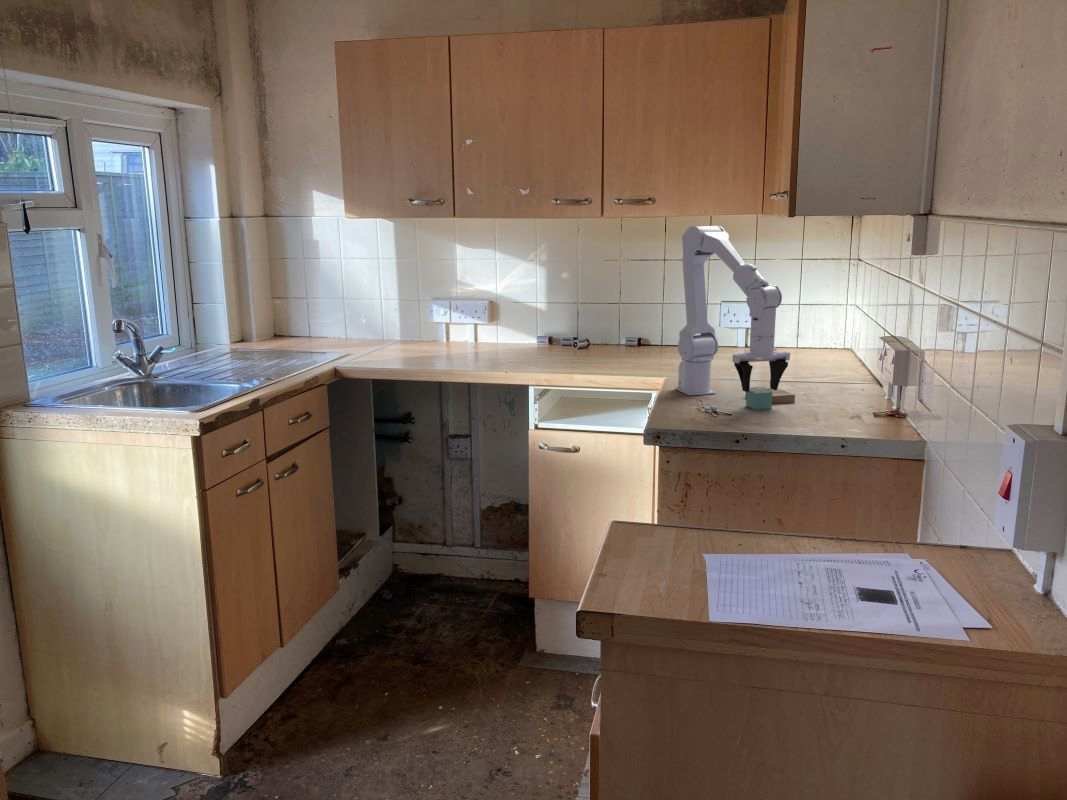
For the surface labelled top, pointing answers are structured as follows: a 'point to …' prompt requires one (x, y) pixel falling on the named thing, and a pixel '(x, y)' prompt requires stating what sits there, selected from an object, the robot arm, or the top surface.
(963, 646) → the top surface
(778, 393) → the walnut block
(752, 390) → the teal tin
